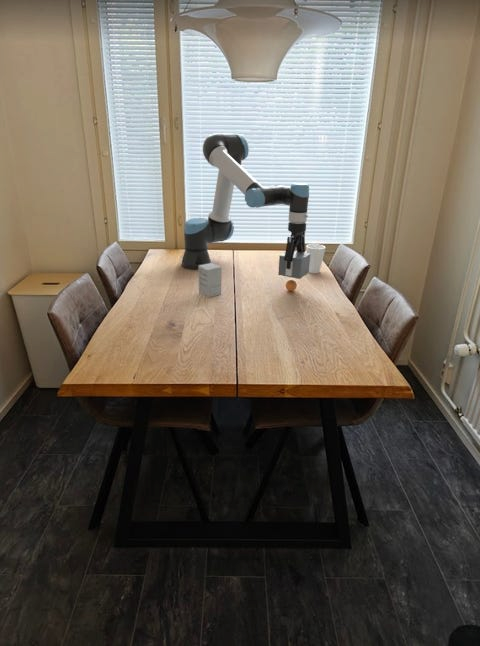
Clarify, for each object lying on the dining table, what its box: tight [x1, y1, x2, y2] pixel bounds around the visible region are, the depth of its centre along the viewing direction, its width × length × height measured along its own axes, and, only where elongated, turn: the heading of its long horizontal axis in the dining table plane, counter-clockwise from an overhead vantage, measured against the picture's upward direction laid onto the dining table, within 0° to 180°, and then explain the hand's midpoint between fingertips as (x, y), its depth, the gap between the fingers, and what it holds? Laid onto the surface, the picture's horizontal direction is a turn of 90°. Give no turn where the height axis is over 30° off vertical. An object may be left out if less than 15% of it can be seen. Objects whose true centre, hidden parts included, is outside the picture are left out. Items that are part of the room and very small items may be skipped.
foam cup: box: [305, 243, 326, 274], centre depth 222 cm, size 10×9×13 cm
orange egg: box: [285, 279, 298, 292], centre depth 197 cm, size 5×5×5 cm
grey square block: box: [278, 250, 310, 280], centre depth 193 cm, size 10×10×9 cm
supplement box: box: [198, 262, 222, 298], centre depth 190 cm, size 7×7×13 cm
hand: (293, 272), depth 194 cm, fingers closed on grey square block, 10 cm apart
